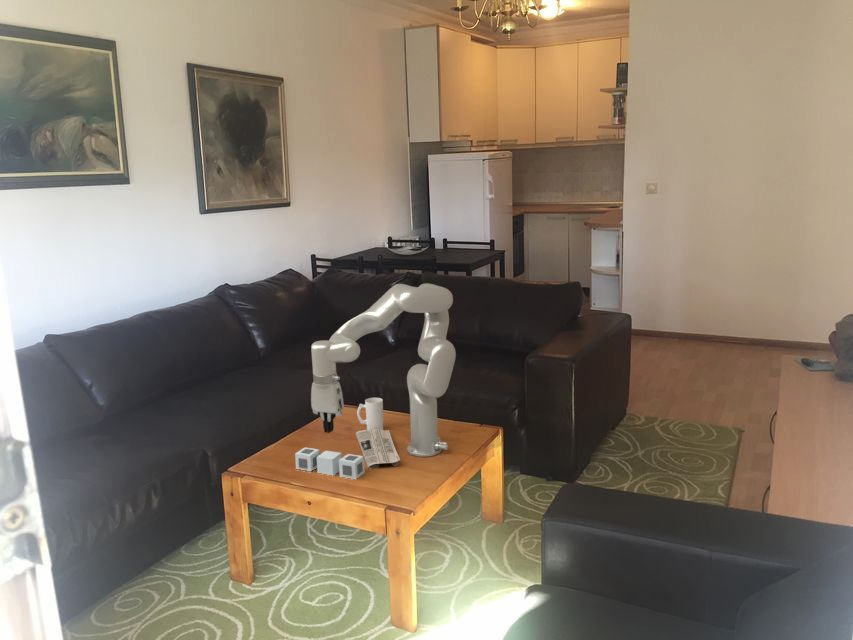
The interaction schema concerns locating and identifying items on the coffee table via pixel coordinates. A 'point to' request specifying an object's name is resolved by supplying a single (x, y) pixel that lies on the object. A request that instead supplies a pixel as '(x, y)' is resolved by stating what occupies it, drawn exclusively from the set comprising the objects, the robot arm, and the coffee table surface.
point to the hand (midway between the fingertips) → (328, 431)
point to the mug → (372, 413)
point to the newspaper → (377, 447)
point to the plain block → (328, 462)
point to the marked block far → (307, 459)
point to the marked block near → (351, 466)
